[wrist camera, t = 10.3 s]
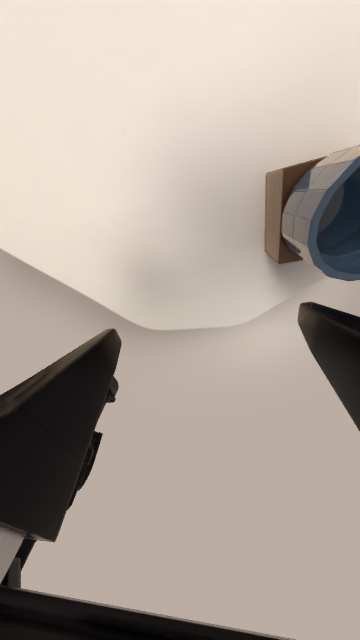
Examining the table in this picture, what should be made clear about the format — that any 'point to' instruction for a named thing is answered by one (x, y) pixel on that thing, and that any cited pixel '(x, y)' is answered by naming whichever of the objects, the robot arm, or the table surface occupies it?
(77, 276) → the table surface
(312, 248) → the bowl
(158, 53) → the table surface
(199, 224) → the table surface
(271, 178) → the walnut block
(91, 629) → the robot arm
